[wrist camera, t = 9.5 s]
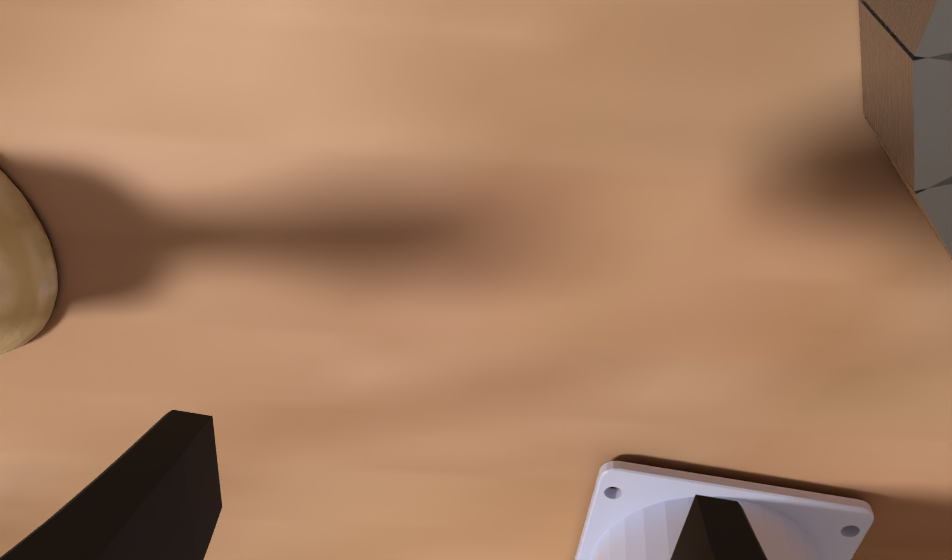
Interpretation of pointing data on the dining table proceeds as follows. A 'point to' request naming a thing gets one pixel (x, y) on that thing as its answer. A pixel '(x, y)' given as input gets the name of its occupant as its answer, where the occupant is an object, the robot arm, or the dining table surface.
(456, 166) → the dining table surface
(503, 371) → the dining table surface
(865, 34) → the grey metal bowl
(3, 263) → the hand bell
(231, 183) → the dining table surface
